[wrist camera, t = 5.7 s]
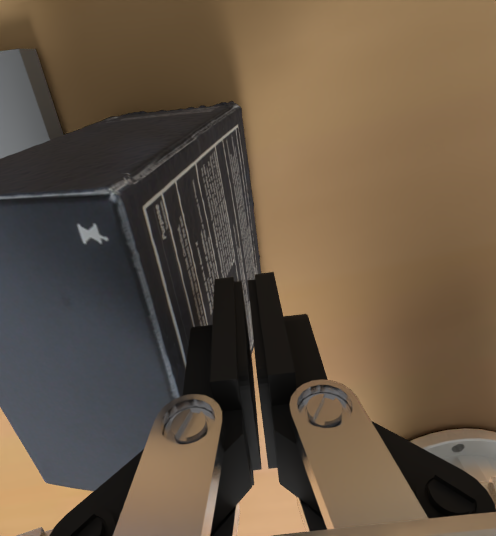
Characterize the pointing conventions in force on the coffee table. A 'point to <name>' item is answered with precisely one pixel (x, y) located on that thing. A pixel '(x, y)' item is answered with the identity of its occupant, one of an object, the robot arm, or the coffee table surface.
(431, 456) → the robot arm
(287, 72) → the coffee table surface
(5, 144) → the rubber pad
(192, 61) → the coffee table surface
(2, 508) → the coffee table surface
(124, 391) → the small box
